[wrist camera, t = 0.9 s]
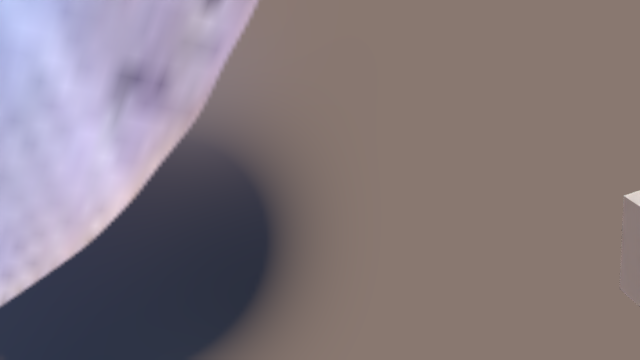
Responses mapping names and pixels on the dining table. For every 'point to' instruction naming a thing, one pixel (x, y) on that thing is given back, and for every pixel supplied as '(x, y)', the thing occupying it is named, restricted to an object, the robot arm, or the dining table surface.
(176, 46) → the dining table surface
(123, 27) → the dining table surface
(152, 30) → the dining table surface
